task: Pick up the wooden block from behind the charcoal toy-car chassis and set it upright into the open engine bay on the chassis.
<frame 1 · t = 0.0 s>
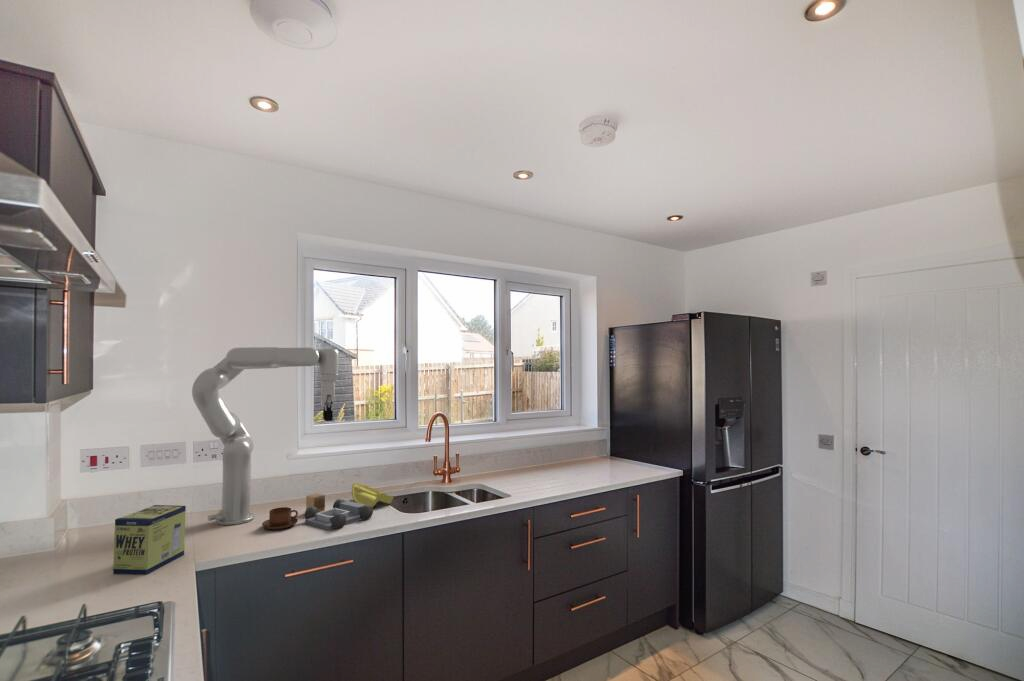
hand: (327, 419, 207), 37 cm above the countertop, tool pointing down, fingers open, 9 cm apart
wooden block: (315, 512, 203), on the countertop
chassis: (339, 519, 193), on the countertop
cup and saucer: (280, 527, 185), on the countertop
plastic component: (371, 503, 218), on the countertop
protein box: (150, 564, 150), on the countertop
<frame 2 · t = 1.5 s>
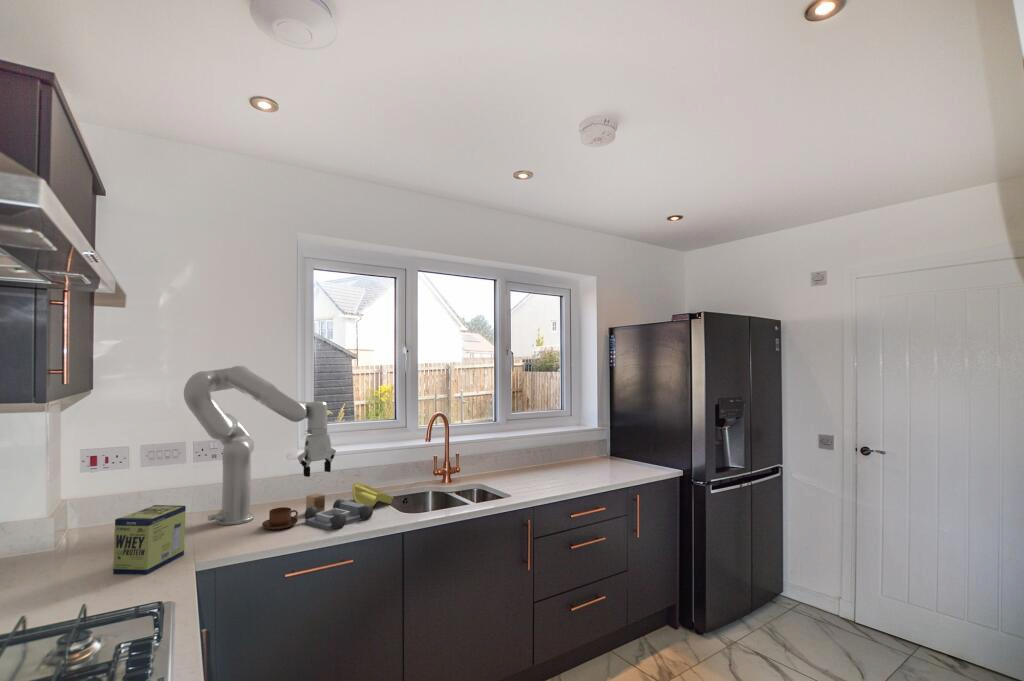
hand: (317, 474, 204), 15 cm above the countertop, tool pointing down, fingers open, 9 cm apart
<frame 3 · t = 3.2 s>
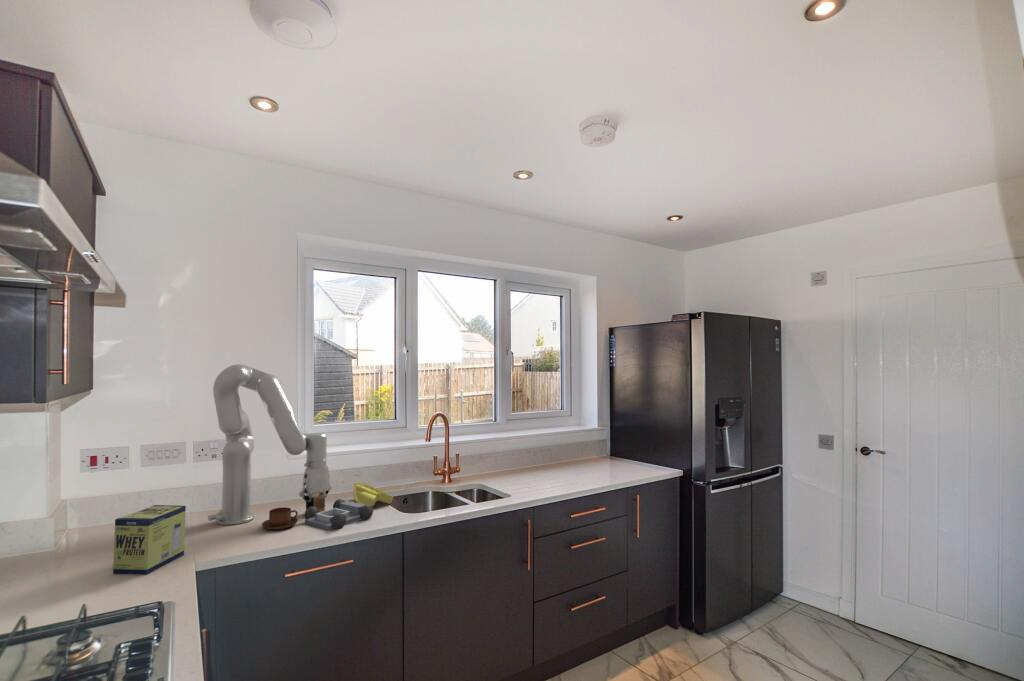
hand: (315, 509, 203), 1 cm above the countertop, tool pointing down, fingers closed on wooden block, 5 cm apart
wooden block: (315, 512, 203), on the countertop, touching gripper
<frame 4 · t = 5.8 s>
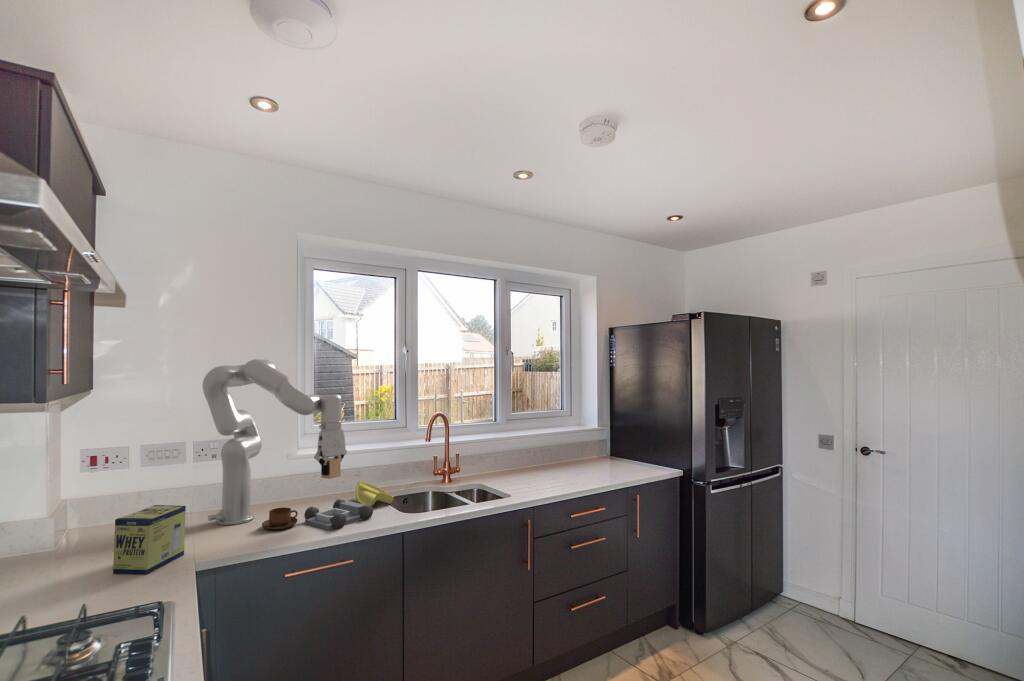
hand: (330, 473, 194), 18 cm above the countertop, tool pointing down, fingers closed on wooden block, 5 cm apart
wooden block: (330, 477, 194), point 16 cm above the countertop, touching gripper
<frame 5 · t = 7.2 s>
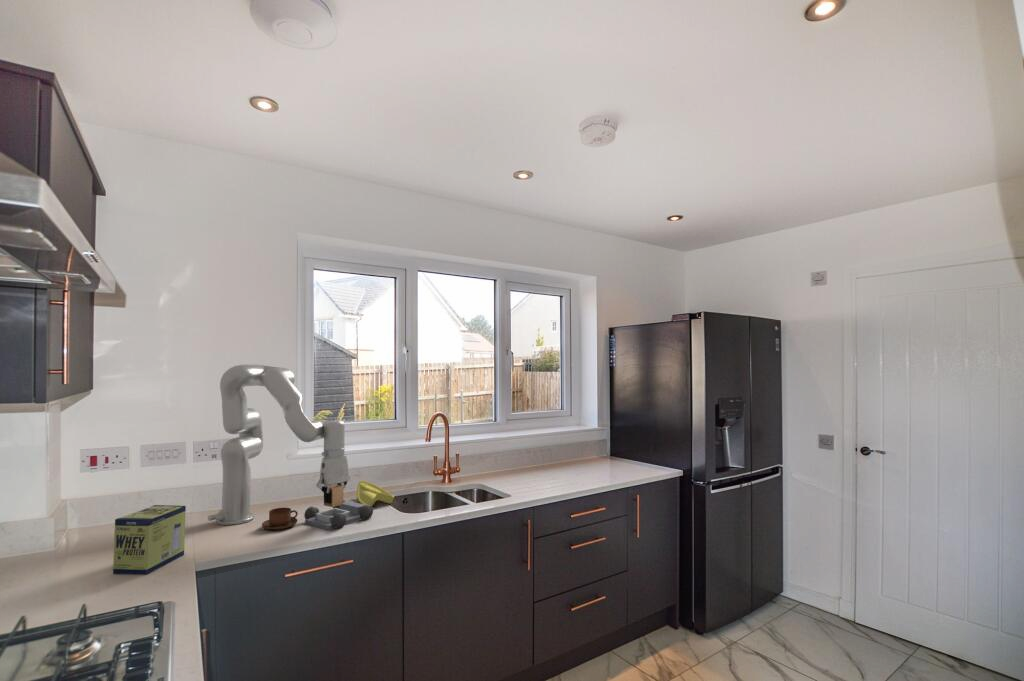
hand: (333, 500, 191), 8 cm above the countertop, tool pointing down, fingers closed on wooden block, 5 cm apart
wooden block: (333, 504, 191), point 6 cm above the countertop, touching gripper
when the fingers open (4 cm above the countertop, at t = 8.4 s): wooden block drops 1 cm, resting on chassis.
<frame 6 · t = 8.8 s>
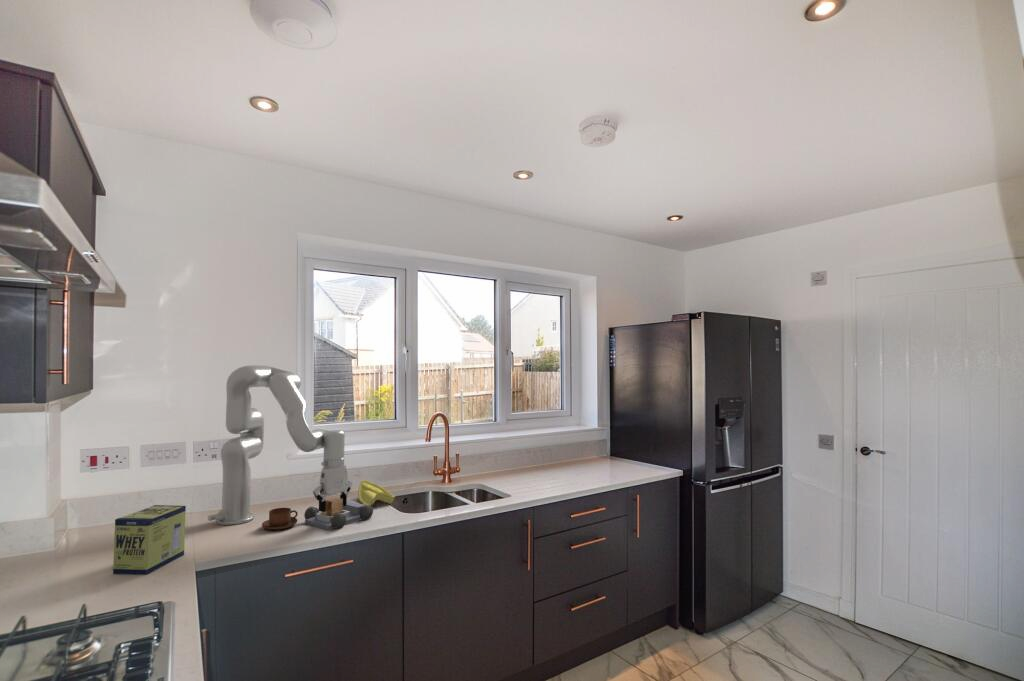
hand: (332, 508, 191), 5 cm above the countertop, tool pointing down, fingers open, 9 cm apart
wooden block: (332, 517, 191), point 1 cm above the countertop, touching chassis
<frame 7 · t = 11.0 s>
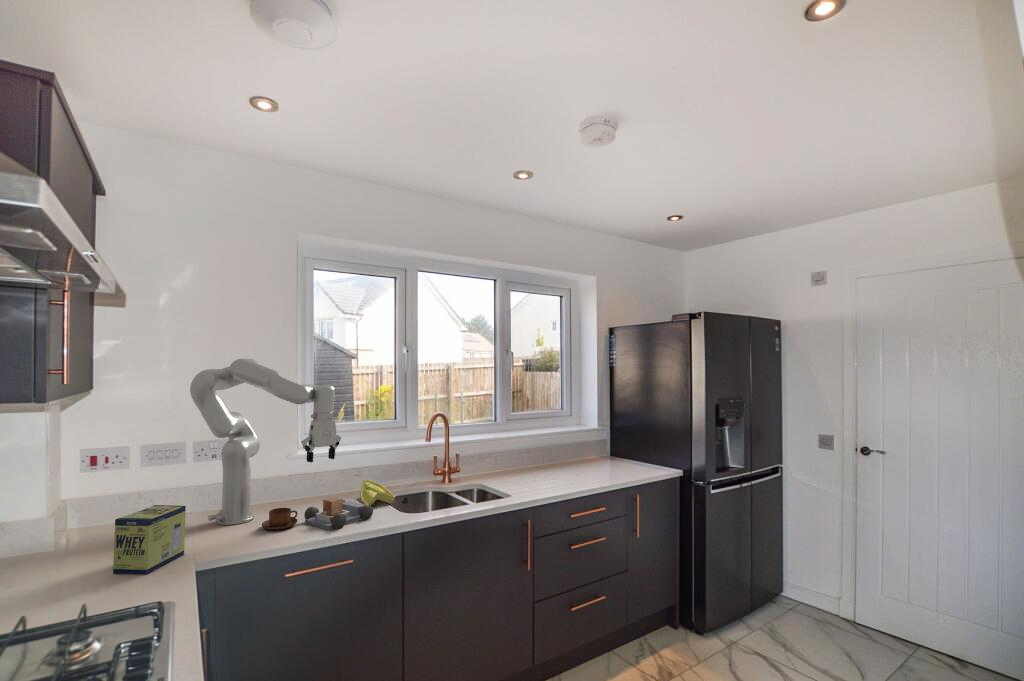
hand: (320, 460, 197), 22 cm above the countertop, tool pointing down, fingers open, 9 cm apart
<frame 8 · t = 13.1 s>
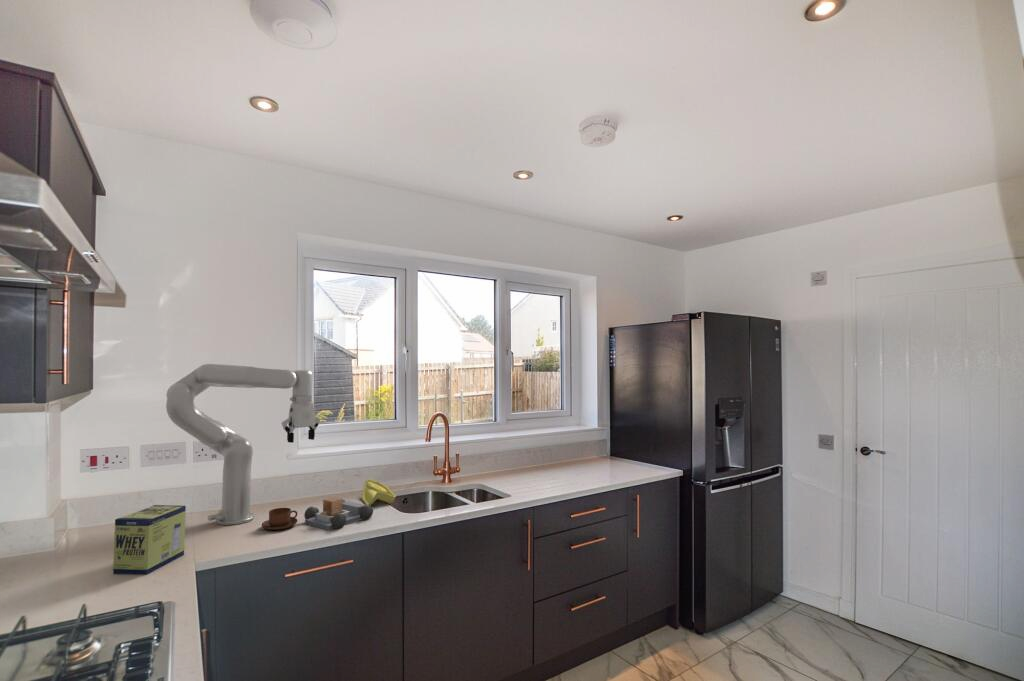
hand: (301, 440, 208), 28 cm above the countertop, tool pointing down, fingers open, 9 cm apart
at the end: wooden block 0.0 cm from the target spot on the chassis, point 1.5 cm above the chassis's base; wooden block tilted 0°; the gripper is holding nothing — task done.
